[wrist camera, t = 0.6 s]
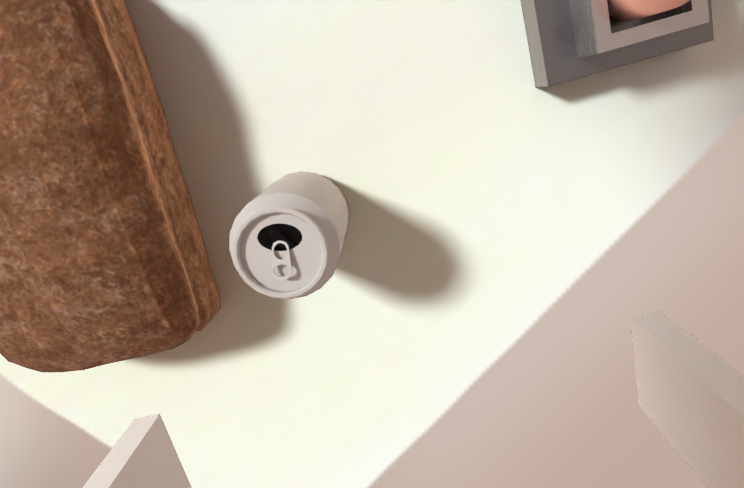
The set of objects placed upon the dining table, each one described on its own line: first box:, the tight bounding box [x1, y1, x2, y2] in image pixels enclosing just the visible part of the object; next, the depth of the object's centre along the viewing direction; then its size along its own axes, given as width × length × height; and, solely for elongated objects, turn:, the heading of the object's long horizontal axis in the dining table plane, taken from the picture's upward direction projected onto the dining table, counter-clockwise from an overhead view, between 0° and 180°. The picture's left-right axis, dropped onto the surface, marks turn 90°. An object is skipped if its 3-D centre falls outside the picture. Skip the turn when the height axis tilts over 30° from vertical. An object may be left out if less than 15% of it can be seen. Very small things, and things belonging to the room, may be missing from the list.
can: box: [229, 172, 349, 299], centre depth 37 cm, size 8×8×12 cm
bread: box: [0, 0, 221, 372], centre depth 37 cm, size 17×29×11 cm, turn 11°
